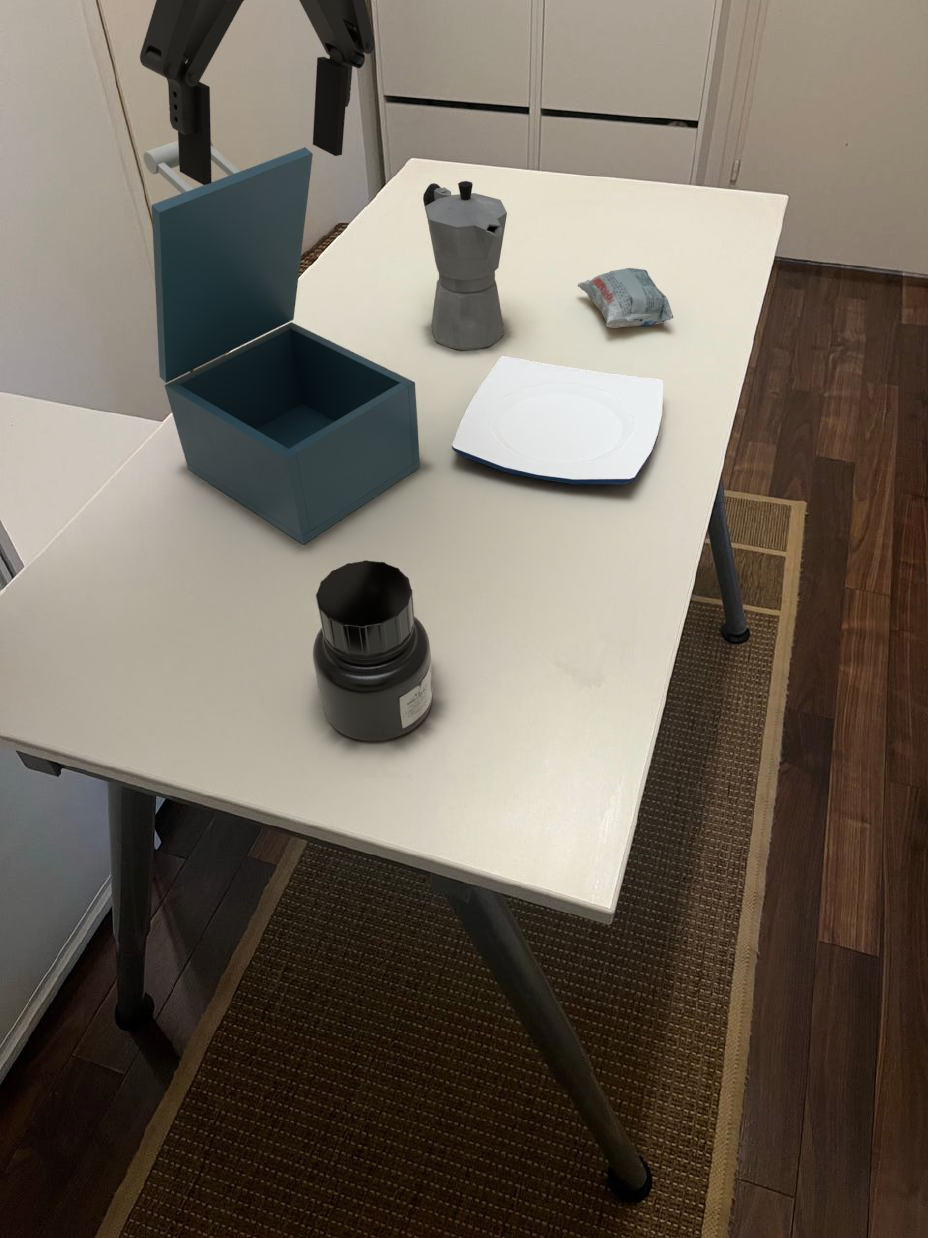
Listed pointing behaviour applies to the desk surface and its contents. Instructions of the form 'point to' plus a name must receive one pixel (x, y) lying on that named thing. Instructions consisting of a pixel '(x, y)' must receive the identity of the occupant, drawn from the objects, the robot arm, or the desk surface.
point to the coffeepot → (465, 265)
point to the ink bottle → (371, 652)
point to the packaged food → (628, 298)
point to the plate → (562, 423)
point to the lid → (225, 255)
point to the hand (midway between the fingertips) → (265, 163)
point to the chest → (297, 428)
